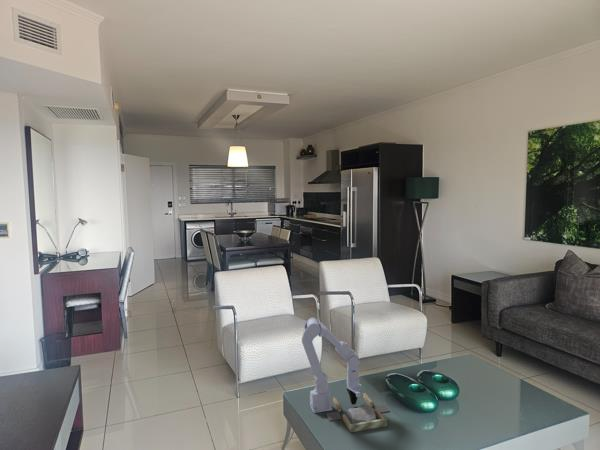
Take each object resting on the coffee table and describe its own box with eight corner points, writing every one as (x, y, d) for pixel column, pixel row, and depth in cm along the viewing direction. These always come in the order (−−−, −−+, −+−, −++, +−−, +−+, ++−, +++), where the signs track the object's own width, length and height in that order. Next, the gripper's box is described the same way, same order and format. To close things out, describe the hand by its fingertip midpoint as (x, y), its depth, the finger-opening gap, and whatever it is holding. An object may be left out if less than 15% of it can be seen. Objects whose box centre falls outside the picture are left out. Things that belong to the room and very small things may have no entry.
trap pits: (329, 421, 181) (329, 420, 181) (325, 414, 187) (325, 413, 187) (389, 411, 187) (389, 410, 187) (384, 405, 193) (384, 404, 193)
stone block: (378, 425, 180) (369, 410, 189) (378, 417, 178) (369, 401, 188) (354, 431, 177) (346, 414, 186) (354, 422, 176) (346, 406, 185)
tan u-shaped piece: (350, 432, 172) (350, 425, 172) (332, 402, 197) (332, 396, 197) (386, 426, 176) (386, 419, 176) (365, 397, 201) (365, 391, 200)
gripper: (366, 382, 185) (366, 410, 187) (355, 369, 199) (356, 395, 201) (352, 384, 184) (352, 412, 185) (342, 371, 198) (342, 396, 199)
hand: (353, 403), depth 193 cm, fingers closed
